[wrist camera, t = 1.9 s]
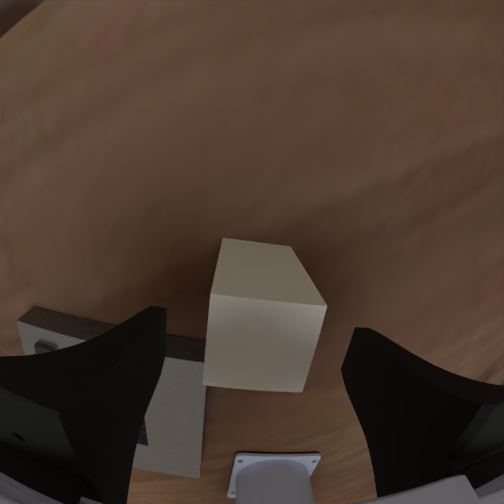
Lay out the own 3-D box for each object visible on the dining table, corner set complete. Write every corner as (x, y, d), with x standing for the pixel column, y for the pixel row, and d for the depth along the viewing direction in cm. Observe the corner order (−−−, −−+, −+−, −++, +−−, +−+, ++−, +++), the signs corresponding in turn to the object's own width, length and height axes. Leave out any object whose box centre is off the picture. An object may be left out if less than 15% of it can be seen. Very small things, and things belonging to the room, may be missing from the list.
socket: (201, 458, 23) (199, 483, 20) (66, 426, 22) (55, 446, 19) (211, 341, 19) (207, 368, 17) (34, 306, 18) (13, 323, 15)
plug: (279, 307, 19) (302, 392, 11) (215, 300, 19) (202, 384, 11) (290, 246, 18) (327, 306, 10) (222, 237, 18) (210, 293, 10)
